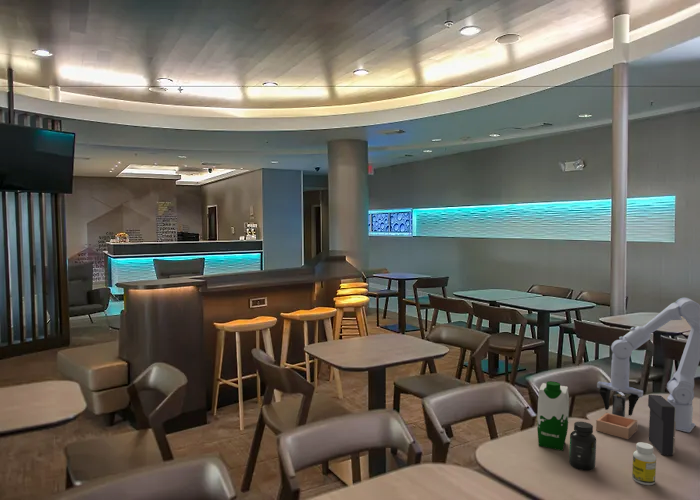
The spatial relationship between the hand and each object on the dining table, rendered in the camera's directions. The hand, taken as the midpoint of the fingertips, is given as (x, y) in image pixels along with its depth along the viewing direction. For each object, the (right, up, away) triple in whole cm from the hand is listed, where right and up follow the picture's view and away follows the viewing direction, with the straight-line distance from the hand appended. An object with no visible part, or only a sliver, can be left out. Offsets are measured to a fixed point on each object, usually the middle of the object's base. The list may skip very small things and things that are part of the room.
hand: (618, 411), depth 182 cm
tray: (-6, -3, -11) cm, 13 cm away
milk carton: (-32, -4, -21) cm, 39 cm away
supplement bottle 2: (-16, -5, -44) cm, 47 cm away
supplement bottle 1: (-29, -4, -36) cm, 46 cm away
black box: (+1, -4, -24) cm, 24 cm away
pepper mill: (0, -2, 0) cm, 2 cm away
